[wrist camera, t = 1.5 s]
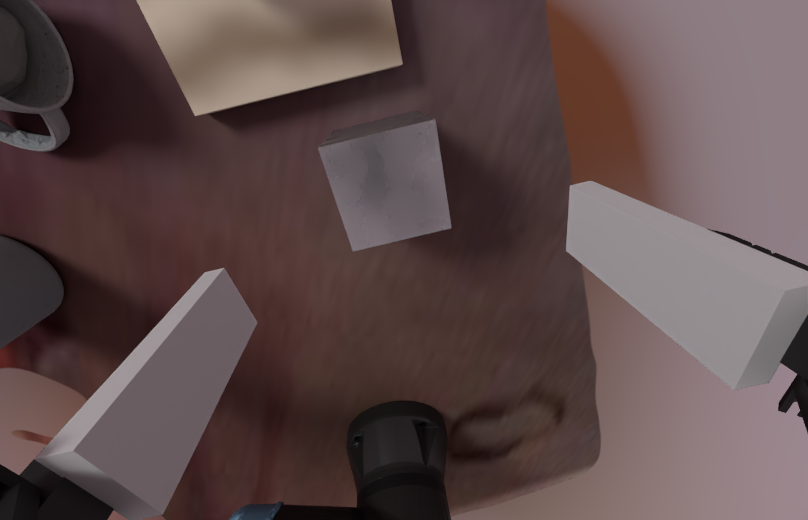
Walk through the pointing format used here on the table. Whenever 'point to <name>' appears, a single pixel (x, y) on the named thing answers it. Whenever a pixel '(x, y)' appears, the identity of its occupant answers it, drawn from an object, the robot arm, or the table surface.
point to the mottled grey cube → (387, 179)
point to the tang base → (269, 46)
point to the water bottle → (25, 289)
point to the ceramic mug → (33, 74)
